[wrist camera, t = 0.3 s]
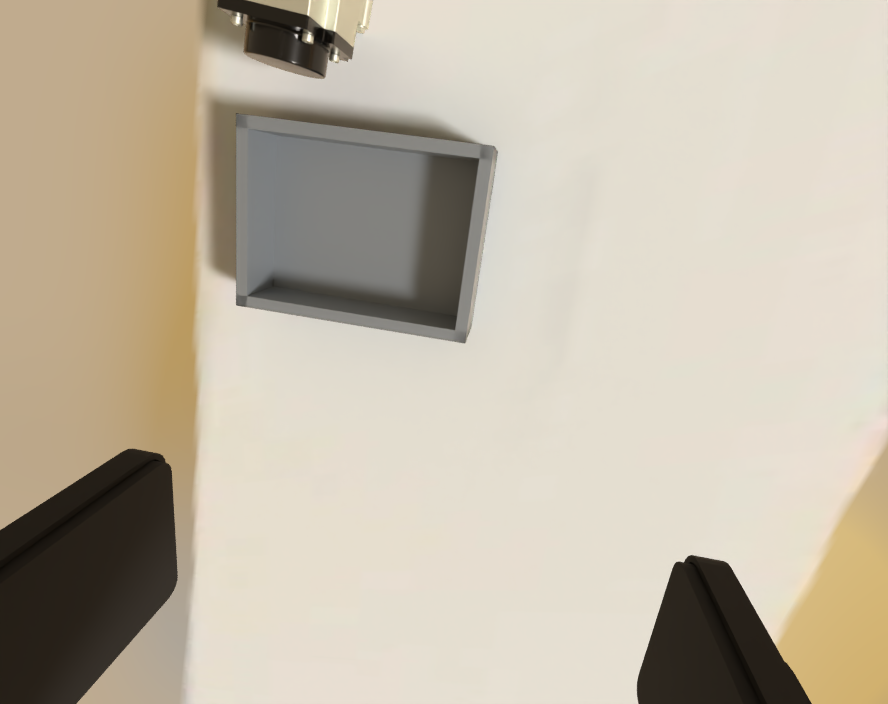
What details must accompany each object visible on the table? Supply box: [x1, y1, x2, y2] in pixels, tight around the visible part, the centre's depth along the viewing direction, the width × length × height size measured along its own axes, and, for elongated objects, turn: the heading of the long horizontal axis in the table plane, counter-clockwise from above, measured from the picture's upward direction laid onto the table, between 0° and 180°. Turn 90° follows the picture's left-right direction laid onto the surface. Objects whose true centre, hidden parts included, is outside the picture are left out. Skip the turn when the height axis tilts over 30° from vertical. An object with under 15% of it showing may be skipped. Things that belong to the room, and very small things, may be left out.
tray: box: [236, 113, 498, 343], centre depth 35 cm, size 13×17×5 cm
